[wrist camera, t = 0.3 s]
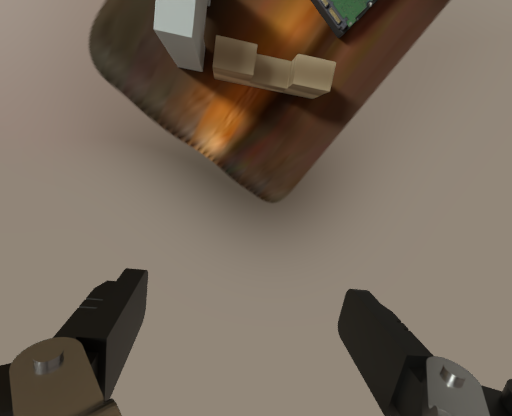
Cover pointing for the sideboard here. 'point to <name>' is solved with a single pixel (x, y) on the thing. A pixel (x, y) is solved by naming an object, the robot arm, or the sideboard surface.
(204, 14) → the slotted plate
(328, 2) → the disk drive
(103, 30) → the sideboard surface
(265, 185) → the sideboard surface
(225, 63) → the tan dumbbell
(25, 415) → the robot arm
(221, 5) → the sideboard surface
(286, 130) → the sideboard surface
